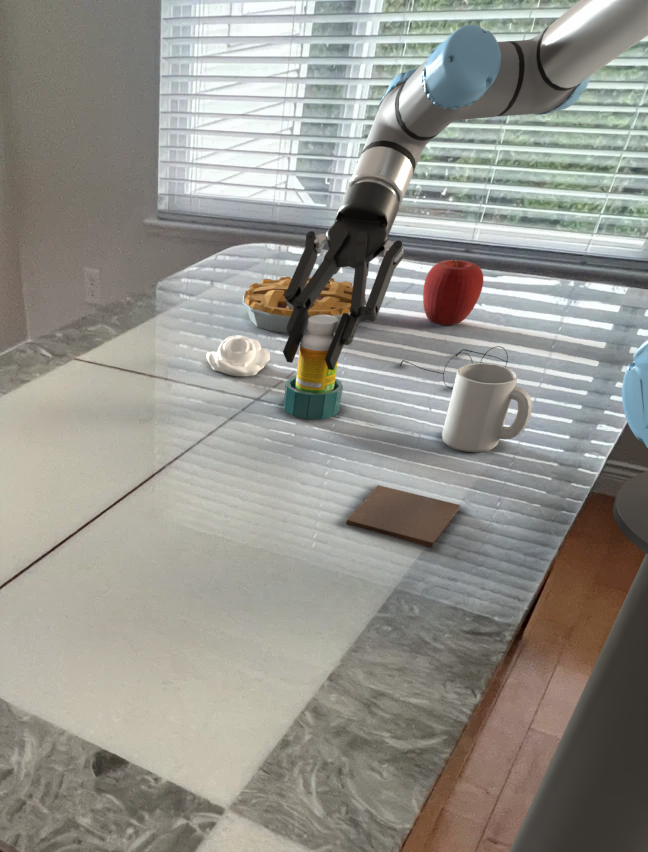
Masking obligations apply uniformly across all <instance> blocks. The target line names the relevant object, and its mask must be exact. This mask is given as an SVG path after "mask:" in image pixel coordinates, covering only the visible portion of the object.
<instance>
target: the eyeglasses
mask: <svg viewBox="0 0 648 852" xmlns="http://www.w3.org/2000/svg"><path fill="white" fill-rule="evenodd" d="M496 348H501V349H503V350H504V351H505V354H506V360H504V359H503V358H501V357H497V356H494V355H491V354H488V353H489V352H490V351H491V350H493V349H496ZM463 351H465V352H464V354H465V355H468V357H469V358H470V361H471V364H474V363H473V359H472V356H471V355H470V354H469V353H467V352H470V353H475V354H479V355H482V357H481V359H480V362H479V363H482V361H483V359H484V358H485V356H487V357H492V358H496V359H499V360H500V361H502V362H505V366H504V367H507V365H508V363H509V361H508V360H509V357H508V352H507V350H506V349H505V347H503V346H500V345H498V346H497V345H496V346H494V347H491V348H489V349H488V350H487V351H486V352H485V353H483V352H479V351H478V352H477V351H473V350H470V349H463V348H462V349H461V350H460V351H459V352H457V353H456V354H454V355H453V356H452V357H450V359H449V360H448V361H447V363H446V364H445V366H444V370H443V372H440V371H436V370H430V369H426V368H423V367H420V366H418V365H416V364H414V363H412V362H409V361H407V360H405V359H402V360H401V362H400V364H399V366H400V367H402V364H403V362H404V363H406V364H410V365H411V366H414V367H416V368H418V369H421V370H424V371H428V372H432V373H437V374H441V375H442V380H443V384H444V385H445V386H446V388H448V389H450V390H453V387H450V386H448V385H447V384H446V381H445V371H446V369H447V366H448V364H449V363H450V361H451V360H452V359H453V358H454V357H457V356H459V355H460V354H462V353H463Z"/></svg>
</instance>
